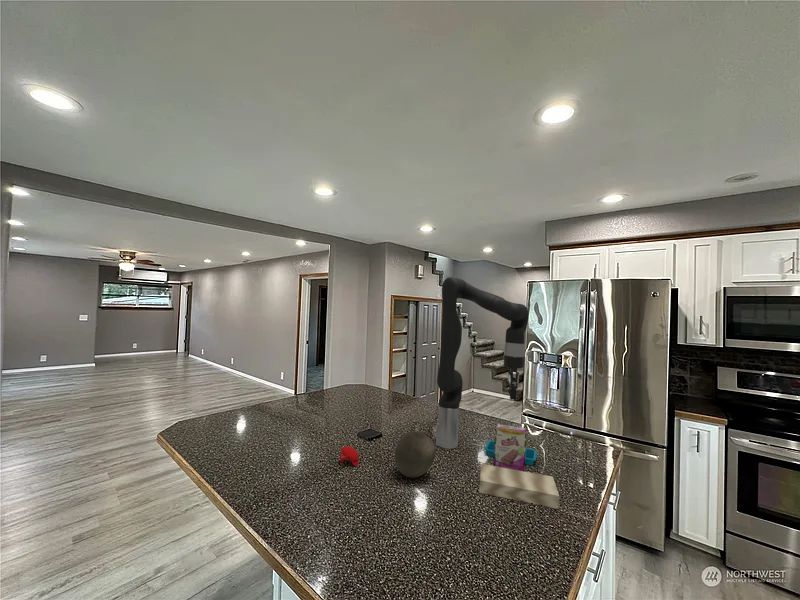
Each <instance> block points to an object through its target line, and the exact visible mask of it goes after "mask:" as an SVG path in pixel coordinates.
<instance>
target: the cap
mask: <svg viewBox="0 0 800 600" xmlns="http://www.w3.org/2000/svg"><path fill="white" fill-rule="evenodd" d="M346 460H347V462H351V464H352V465H353V466H354V467H358V466H359V462H360V461H359V454H358V451H357V450H355V448H353V447H351V446H348V445H347V446H343V447H342V448H341V451H340V453H339V461H340V465H341V466H344V461H346Z"/></svg>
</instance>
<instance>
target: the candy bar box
mask: <svg viewBox="0 0 800 600" xmlns="http://www.w3.org/2000/svg"><path fill="white" fill-rule="evenodd" d="M495 426H496V427H495V439H494V441H495V454H494V457H493V459H494V460H493V466H497V467H502V468H508V469H513V470H519V471H524V472H525V469H526V464H525V451H526V448H527V447H526V445H527V428H523V427H517V426H513V425H512V426H511V425H505V424H501V423H500V424H499V423H496V425H495Z"/></svg>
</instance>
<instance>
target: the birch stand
mask: <svg viewBox="0 0 800 600" xmlns="http://www.w3.org/2000/svg"><path fill="white" fill-rule="evenodd" d="M480 468H481V469H480V475H479V485H478V486H479V489H478V491H479V492H478V493H479V494H483V495H488V494H489V495H488V496H493V495H494V497H499V498H503V499H509V500H512V499H513V501H517V502H522V501H523V502H522V503H527V502H528V503H527V504H531V503H533V505H536V504H537V505H538V506H541V505H542V507H545V508H552V509H556V510H560V494H559V491H558V488H557V485H556V483H555V480H554V477H553V476H551V475H544V474H540V473H535V472H529V471H525V470H524V471H519V470H513V469H508V468H502V467H497V466H494V465H491V464H486V463H485V464H484V463H481V465H480ZM537 505H536V506H537Z"/></svg>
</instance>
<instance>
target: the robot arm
mask: <svg viewBox="0 0 800 600" xmlns="http://www.w3.org/2000/svg"><path fill="white" fill-rule="evenodd" d="M457 299H463V300H466V301H470V302H473V303H474V304H476V305H478V306H479V307H480V308H483V309H484V310H487V311H489V312H491V313H494V314H496V315H497V316H499V317H501V318H503V319H504V320H507V321H509V322H510V325H509V327H507V328H506V332H505V344H504V348H503V349H504V353H503V366H504V367H505V368H508V371H507V381H508V386H509V387H508V394H509V400H513V401H516V400H517V391H518V388H519V387H518V385H519V378H520V373H519V371H518V370H519V369H524V368H525V352H526V348H525V338H526V337H525V335H526V330H527V327H528V322H529V315H530V314H529V310H528V309H529V308H528V307H527V306H526V305H525V304H523V303H517V302H511V301H509V300H507V299H506V298H504V297H502V296H499V295H497V294H493V293H492V292H489V291H485V290H482V289H480V288H477V287H475V286H474V285H472V284H470V283H468V282H467V281H465V280H464V279H462V278H458V277H453V276H452V277H451V276H449V277H446V278H445V279H444V281H443V282H442V285H441V301H442V302H441V304H442V311H441V312H442V313H441V314H442V315H441V321H442V322H441V330H440V331H441V333H440V339H441V340H440V351H439V352H440V354H439V355H440V356H439V364H438V369H437V376H436V377H437V379H436V382H437V387H438V389H439V390H440V391H442V395H441V396H440V398H439V400H438V410H437V411H438V413H437V415H438V416H437V423H436V431H435V434H436V436H435V446H436V447H437V446H438V447H440V448H443V449H446V450H449V449H450V450H451V449H453V450H454V449H456V448H458V442H459V441H458V439H459V438H458V437H459V422H460V421H459V419H460V403H461V400H462V398H463V397H462V395H463V385H464V384H463V377H462V374H461V373H460V372H459V371H458V370H456V369H455V367H456V360H457V355H458V353H459V350H460V347H461V345H462V337H463V335H462V334H463V325H462V323H461V322H462V321H461V320H460V317H459V313H458V311H457Z"/></svg>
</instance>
